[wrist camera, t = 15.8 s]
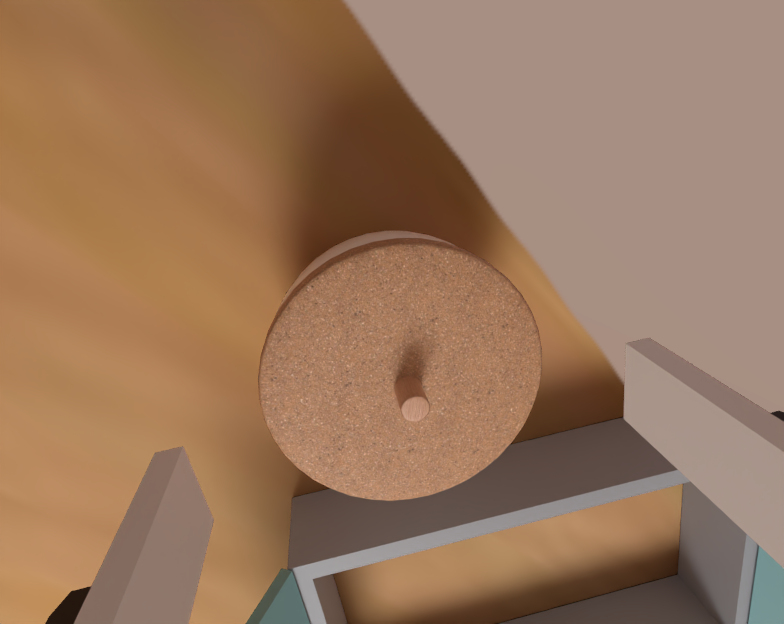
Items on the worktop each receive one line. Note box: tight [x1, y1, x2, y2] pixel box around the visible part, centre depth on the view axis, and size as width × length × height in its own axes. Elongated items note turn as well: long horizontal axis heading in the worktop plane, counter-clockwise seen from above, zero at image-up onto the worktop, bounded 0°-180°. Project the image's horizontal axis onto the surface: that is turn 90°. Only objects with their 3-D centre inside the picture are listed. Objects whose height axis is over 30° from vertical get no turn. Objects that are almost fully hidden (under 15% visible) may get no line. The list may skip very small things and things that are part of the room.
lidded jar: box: [258, 231, 542, 501], centre depth 20 cm, size 11×11×9 cm
